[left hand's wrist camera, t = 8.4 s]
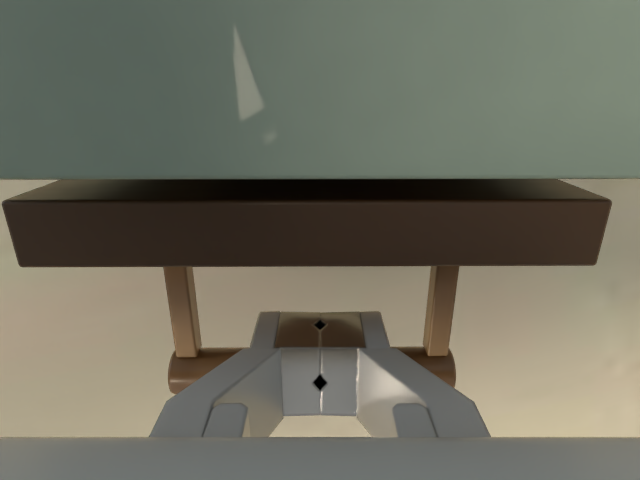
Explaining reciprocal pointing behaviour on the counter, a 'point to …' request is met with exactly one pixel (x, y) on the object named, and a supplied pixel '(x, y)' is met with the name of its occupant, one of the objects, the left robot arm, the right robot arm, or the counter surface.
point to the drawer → (305, 236)
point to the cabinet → (319, 89)
